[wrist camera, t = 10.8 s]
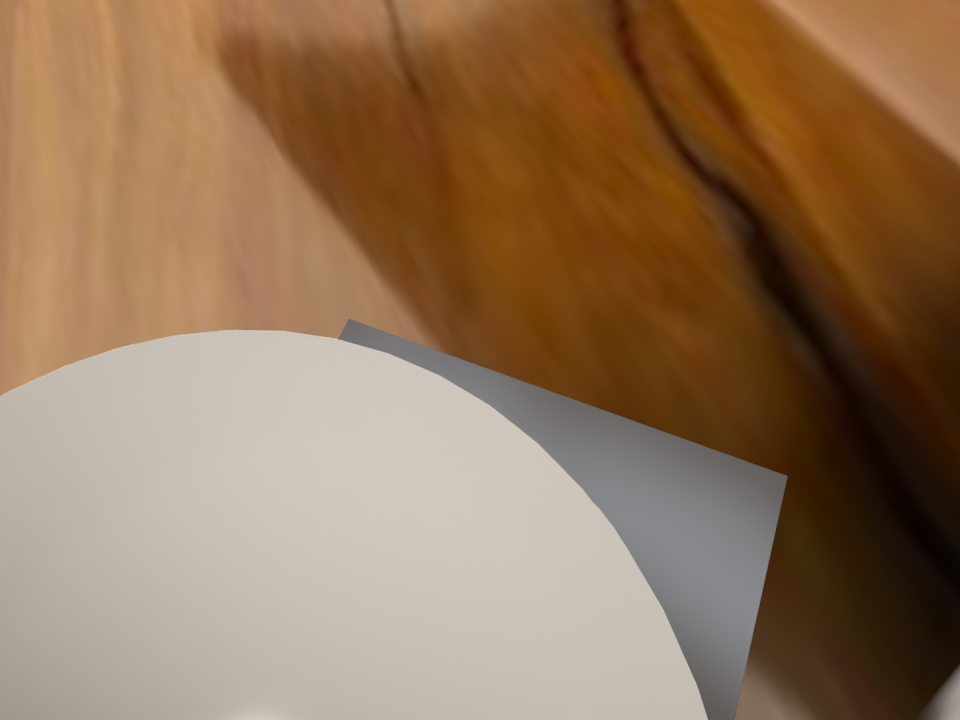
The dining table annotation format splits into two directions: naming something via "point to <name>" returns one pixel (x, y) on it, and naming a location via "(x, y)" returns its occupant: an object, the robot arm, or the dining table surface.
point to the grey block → (648, 508)
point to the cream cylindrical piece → (306, 548)
